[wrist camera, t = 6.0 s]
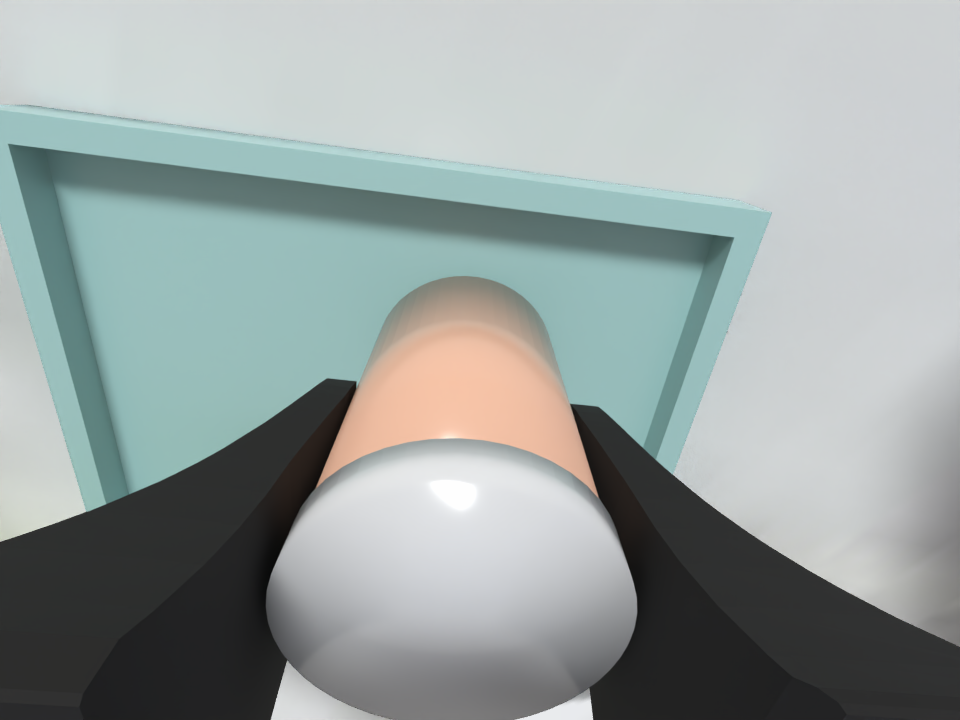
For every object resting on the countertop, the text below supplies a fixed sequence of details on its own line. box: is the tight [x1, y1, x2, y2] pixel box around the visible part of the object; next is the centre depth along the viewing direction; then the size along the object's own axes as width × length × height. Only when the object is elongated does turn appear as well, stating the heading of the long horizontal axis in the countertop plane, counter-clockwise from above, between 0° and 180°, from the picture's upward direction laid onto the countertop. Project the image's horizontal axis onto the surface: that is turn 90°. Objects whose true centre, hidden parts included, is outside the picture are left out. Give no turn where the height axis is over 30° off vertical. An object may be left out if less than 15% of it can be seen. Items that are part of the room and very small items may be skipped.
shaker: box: [266, 276, 637, 720], centre depth 10 cm, size 5×5×7 cm
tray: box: [0, 105, 772, 512], centre depth 13 cm, size 16×12×2 cm
